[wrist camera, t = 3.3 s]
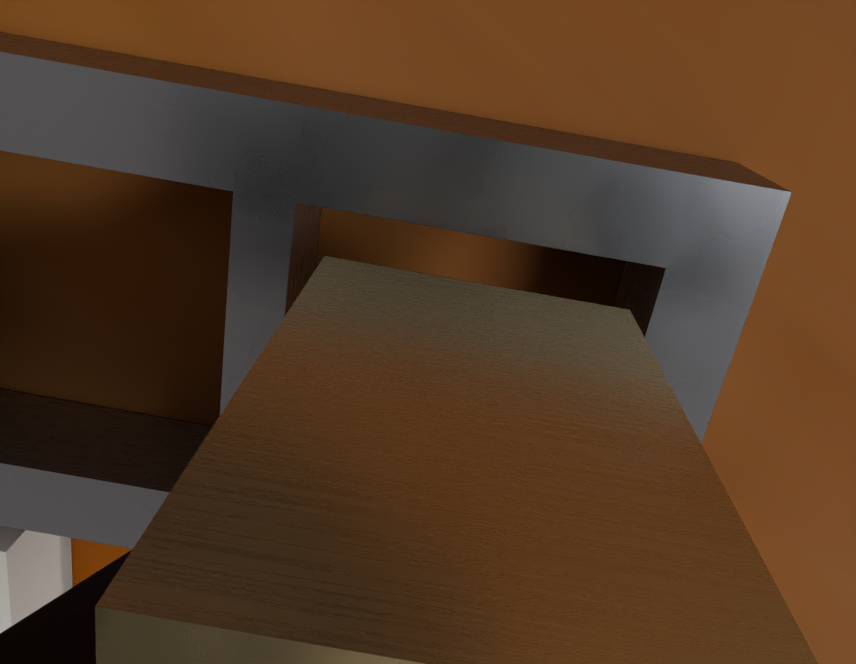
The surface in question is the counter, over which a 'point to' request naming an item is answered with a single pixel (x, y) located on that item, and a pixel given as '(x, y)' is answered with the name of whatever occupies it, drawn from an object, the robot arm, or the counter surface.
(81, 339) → the counter surface
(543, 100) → the counter surface
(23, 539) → the parts tray
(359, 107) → the grey rectangular frame
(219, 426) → the block
